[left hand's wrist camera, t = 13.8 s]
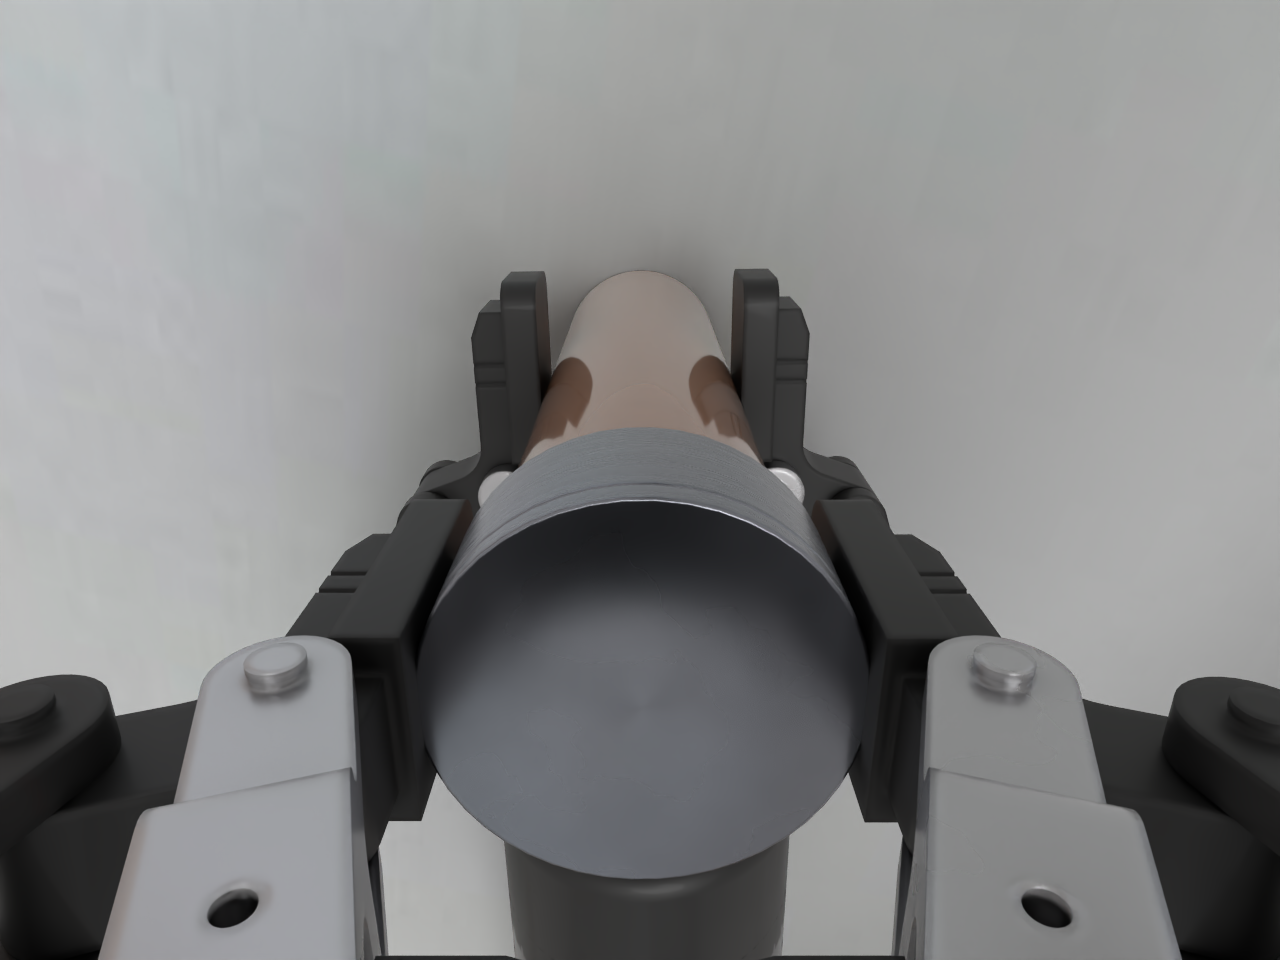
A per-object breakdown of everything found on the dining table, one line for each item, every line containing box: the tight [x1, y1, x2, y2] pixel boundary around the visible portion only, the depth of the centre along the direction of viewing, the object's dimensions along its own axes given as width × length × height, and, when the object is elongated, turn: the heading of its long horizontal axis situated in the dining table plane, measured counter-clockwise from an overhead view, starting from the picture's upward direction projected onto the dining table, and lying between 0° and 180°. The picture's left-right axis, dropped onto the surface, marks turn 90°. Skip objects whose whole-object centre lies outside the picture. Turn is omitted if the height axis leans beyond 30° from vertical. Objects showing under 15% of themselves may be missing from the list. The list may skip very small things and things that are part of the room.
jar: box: [518, 271, 765, 468], centre depth 17 cm, size 4×4×16 cm
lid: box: [416, 427, 870, 879], centre depth 10 cm, size 5×5×2 cm
